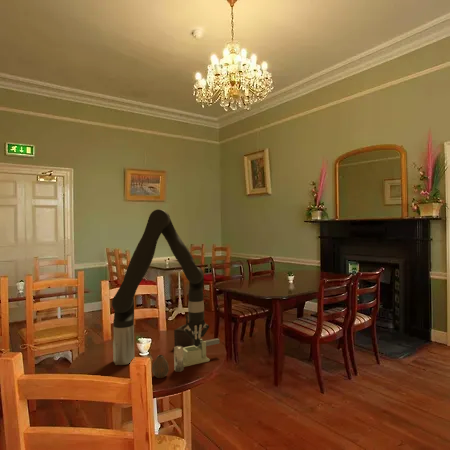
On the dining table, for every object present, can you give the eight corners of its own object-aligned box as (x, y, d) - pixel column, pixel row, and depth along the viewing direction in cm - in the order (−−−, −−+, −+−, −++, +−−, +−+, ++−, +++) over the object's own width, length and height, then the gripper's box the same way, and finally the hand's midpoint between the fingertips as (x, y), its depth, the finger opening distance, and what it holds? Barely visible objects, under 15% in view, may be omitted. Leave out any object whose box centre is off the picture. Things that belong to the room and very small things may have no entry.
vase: (169, 372, 157) (169, 352, 156) (167, 379, 150) (167, 358, 150) (153, 372, 156) (153, 353, 156) (151, 380, 150) (150, 359, 149)
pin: (200, 347, 170) (200, 343, 170) (199, 345, 172) (198, 341, 172) (219, 343, 175) (219, 339, 175) (217, 342, 177) (217, 338, 177)
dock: (183, 366, 162) (183, 348, 162) (175, 359, 171) (175, 341, 171) (209, 361, 168) (209, 343, 168) (200, 354, 177) (200, 337, 177)
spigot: (176, 372, 156) (175, 349, 156) (173, 369, 160) (172, 346, 160) (184, 370, 158) (184, 348, 158) (181, 367, 162) (181, 345, 162)
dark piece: (192, 350, 182) (192, 315, 182) (173, 347, 187) (173, 313, 186) (205, 340, 197) (205, 307, 196) (188, 338, 201) (187, 306, 201)
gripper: (186, 313, 164) (186, 351, 164) (212, 309, 170) (212, 346, 170) (180, 310, 170) (180, 346, 171) (205, 306, 177) (206, 341, 177)
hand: (196, 346), depth 171 cm, fingers closed
